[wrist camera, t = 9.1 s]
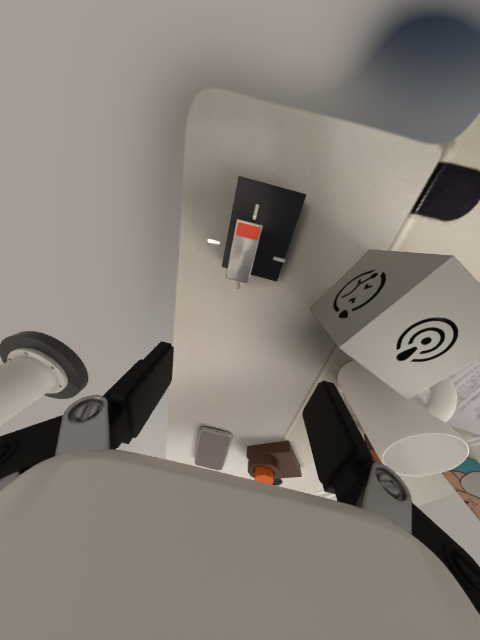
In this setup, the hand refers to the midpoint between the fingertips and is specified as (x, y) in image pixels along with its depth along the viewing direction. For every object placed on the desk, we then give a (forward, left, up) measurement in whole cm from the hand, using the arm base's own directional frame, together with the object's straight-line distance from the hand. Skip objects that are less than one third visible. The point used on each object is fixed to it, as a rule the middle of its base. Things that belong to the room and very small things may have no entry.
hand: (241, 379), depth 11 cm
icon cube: (+14, -6, -16) cm, 22 cm away
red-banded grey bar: (+2, +7, -13) cm, 15 cm away
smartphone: (-22, -32, -16) cm, 43 cm away
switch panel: (+2, +7, -16) cm, 18 cm away
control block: (-9, -39, -16) cm, 43 cm away
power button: (-11, -37, -12) cm, 40 cm away
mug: (+14, -18, -16) cm, 28 cm away
